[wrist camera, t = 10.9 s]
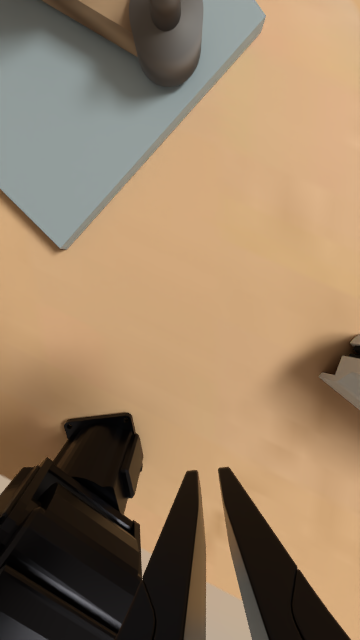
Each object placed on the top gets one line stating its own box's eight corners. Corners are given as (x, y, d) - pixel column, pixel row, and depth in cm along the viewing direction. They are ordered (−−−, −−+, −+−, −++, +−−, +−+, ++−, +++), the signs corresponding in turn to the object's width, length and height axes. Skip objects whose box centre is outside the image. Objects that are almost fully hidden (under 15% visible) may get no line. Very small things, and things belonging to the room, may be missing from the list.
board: (66, 249, 18) (60, 248, 17) (-80, 103, 16) (-97, 92, 15) (260, 32, 15) (265, 16, 14) (105, -187, 13) (98, -225, 12)
